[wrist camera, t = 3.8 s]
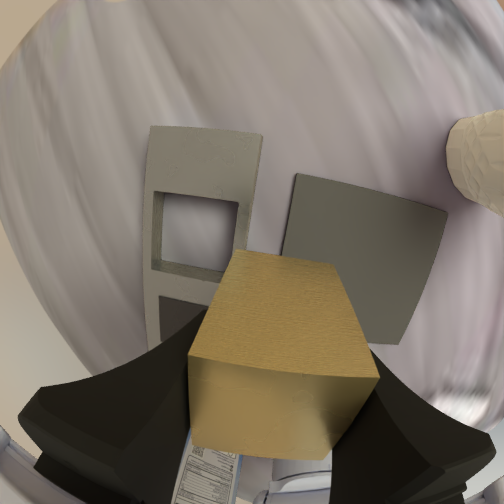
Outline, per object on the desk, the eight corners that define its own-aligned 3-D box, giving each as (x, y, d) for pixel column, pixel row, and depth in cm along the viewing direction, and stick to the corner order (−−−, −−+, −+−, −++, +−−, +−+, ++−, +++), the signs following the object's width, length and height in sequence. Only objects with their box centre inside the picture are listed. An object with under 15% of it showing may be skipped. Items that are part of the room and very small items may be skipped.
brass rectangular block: (310, 341, 13) (322, 460, 7) (226, 329, 14) (191, 444, 7) (333, 264, 12) (379, 377, 5) (236, 248, 12) (187, 354, 5)
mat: (397, 342, 21) (398, 344, 20) (266, 327, 21) (265, 329, 21) (446, 212, 16) (448, 213, 16) (296, 173, 17) (297, 173, 17)
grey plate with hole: (230, 357, 23) (226, 372, 21) (155, 340, 23) (148, 352, 21) (263, 136, 16) (261, 134, 14) (162, 127, 16) (149, 125, 15)
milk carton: (202, 381, 24) (143, 566, 5) (249, 410, 25) (221, 581, 7) (157, 410, 27) (102, 543, 9) (198, 434, 28) (160, 563, 10)
